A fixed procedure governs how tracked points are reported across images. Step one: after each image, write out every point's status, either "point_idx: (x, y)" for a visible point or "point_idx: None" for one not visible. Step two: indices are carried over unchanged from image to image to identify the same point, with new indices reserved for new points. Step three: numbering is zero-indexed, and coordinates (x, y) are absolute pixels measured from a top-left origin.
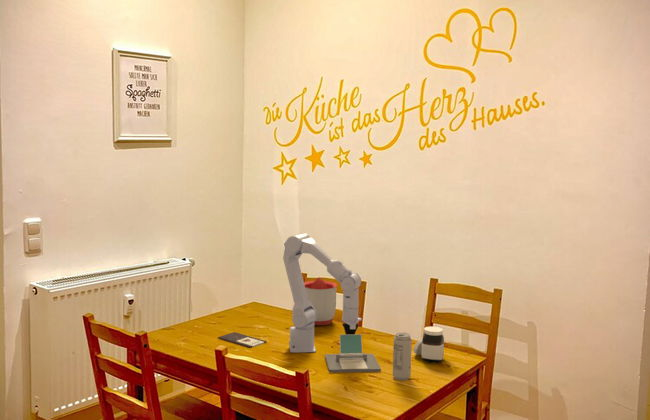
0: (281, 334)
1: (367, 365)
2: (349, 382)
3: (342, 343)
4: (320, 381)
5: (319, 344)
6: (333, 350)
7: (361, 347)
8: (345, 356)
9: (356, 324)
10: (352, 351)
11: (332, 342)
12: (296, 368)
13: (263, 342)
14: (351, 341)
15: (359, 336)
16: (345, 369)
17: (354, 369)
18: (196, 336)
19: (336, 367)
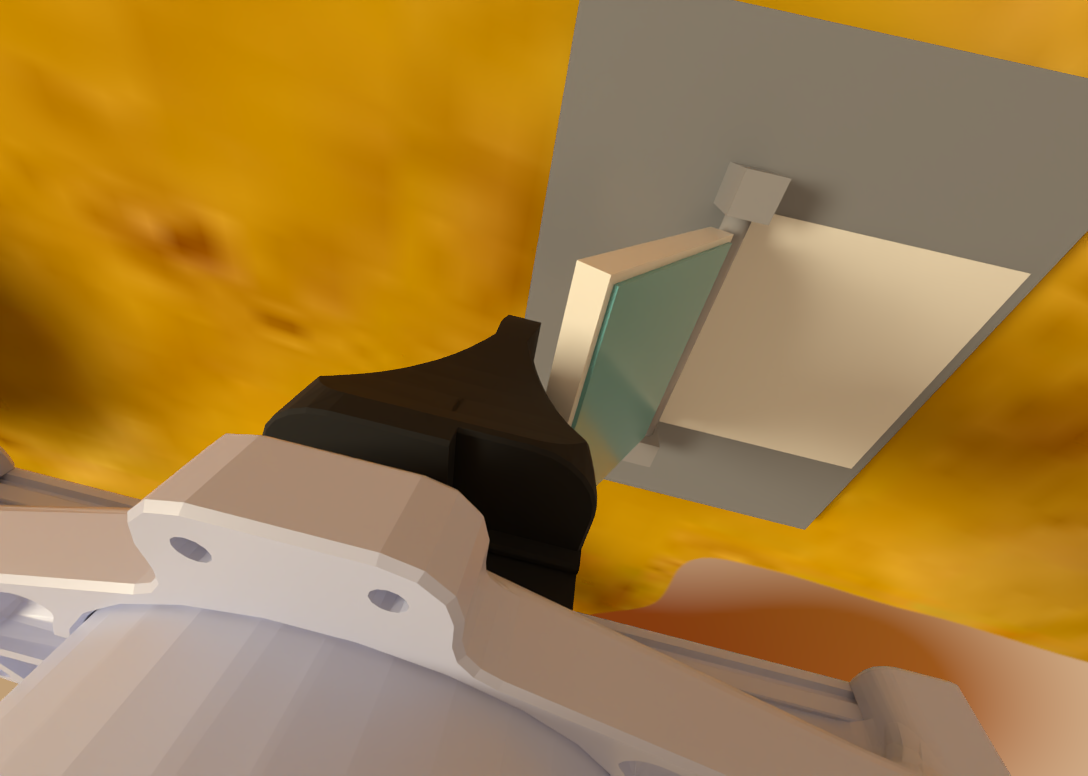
0: (129, 492)
1: (936, 237)
2: (1076, 483)
3: (604, 470)
4: (896, 586)
5: (249, 385)
6: (369, 344)
7: (707, 252)
8: (670, 393)
9: (450, 467)
10: (679, 350)
11: (177, 286)
12: (644, 594)
13: None
14: (624, 398)
15: (626, 308)
16: (876, 452)
17: (930, 393)
18: None
19: (792, 484)
